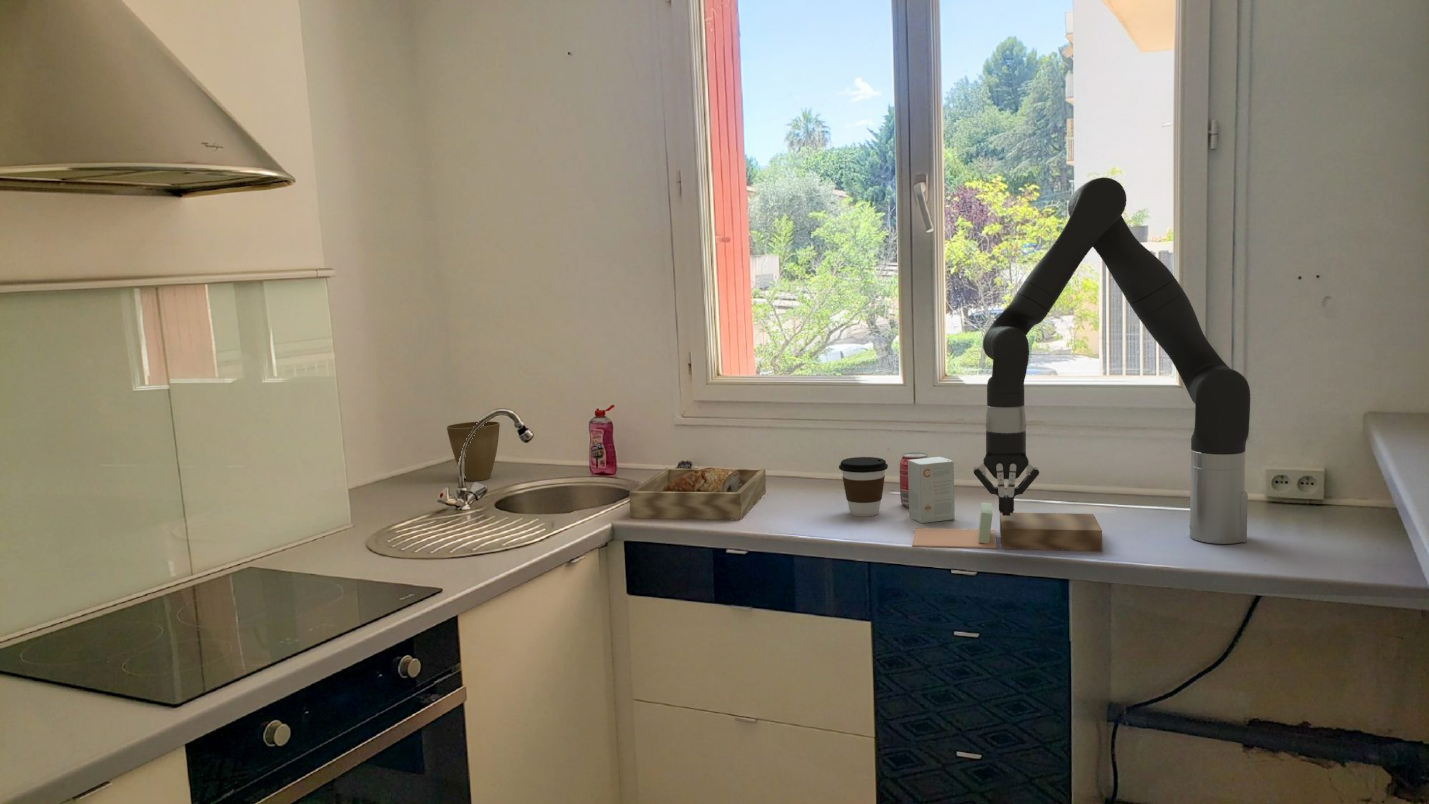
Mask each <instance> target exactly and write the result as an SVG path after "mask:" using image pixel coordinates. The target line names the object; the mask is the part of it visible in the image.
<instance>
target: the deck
mask: <svg viewBox="0 0 1429 804" xmlns="http://www.w3.org/2000/svg"><path fill="white" fill-rule="evenodd" d="M1098 522H1099V521H1098V520H1097V518H1096V515H1095V514H1094V513H1063V512H1061V513H1060V512H1055V513H1054V512H1013V513H1010V516H1007V515H1006V516H1003V515H1002V513H1000V512H999V535H1000V543H1001V548H1002V550H1030V549H1039V550H1040V549H1041V551H1071V550H1074V551H1073V552H1075V551H1076V550H1077V551H1078V550H1079V551H1078V552H1081V550H1082V552H1083V551H1084V552H1103V530H1102V527H1101V525H1100V524H1099V523H1098Z"/></svg>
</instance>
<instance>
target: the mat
mask: <svg viewBox="0 0 1429 804" xmlns="http://www.w3.org/2000/svg"><path fill="white" fill-rule="evenodd" d="M912 539H913V540H912V544H911V547H912V548H913V547H914V548H915V547H916V548H948V549H949V548H951V549H952V548H953V549H955V548H957V549H994V550H995V549H996V550H997V537H996V530H995V529H991V531H990V539H989V544H986V543H979V542H978V529H970V528H969V529H965V528H963V529H961V528H915V529H914V534H913V538H912Z"/></svg>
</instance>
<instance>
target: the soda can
mask: <svg viewBox="0 0 1429 804" xmlns="http://www.w3.org/2000/svg"><path fill="white" fill-rule="evenodd" d="M922 458H929V457H928V453H926V452H919V451H918V452H914V451H913V452H911V451H910V452H905V453H902V457H901V459H900V460H899V493H900V494H899V498H900V503H901V504H902V505H903V506H904V507H906V508H909V485H908V460H912V459H922Z"/></svg>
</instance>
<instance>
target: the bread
mask: <svg viewBox="0 0 1429 804" xmlns="http://www.w3.org/2000/svg"><path fill="white" fill-rule="evenodd" d="M699 469H700V470H696V471H693V472H689V473H686V474H684V475H682V476H680V477H678V478H676V479H674V480H672V481H671V482H669V483H668V484H667V485H665V486H664V487H663V489H661V490H660V492H737V491H738V490H739V489H740V488H741V487H742V485H741V483H740V481H741V475H740V473H739V471H737V470H732V469H733V468H718V467H705V468H699Z"/></svg>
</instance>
